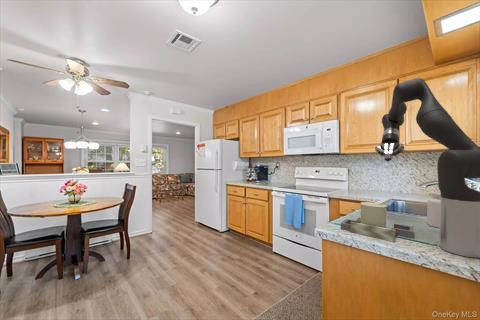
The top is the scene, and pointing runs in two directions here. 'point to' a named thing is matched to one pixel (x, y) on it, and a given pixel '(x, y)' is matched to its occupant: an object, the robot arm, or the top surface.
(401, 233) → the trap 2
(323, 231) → the top surface
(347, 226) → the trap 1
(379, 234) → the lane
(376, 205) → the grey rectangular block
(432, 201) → the pill bottle
